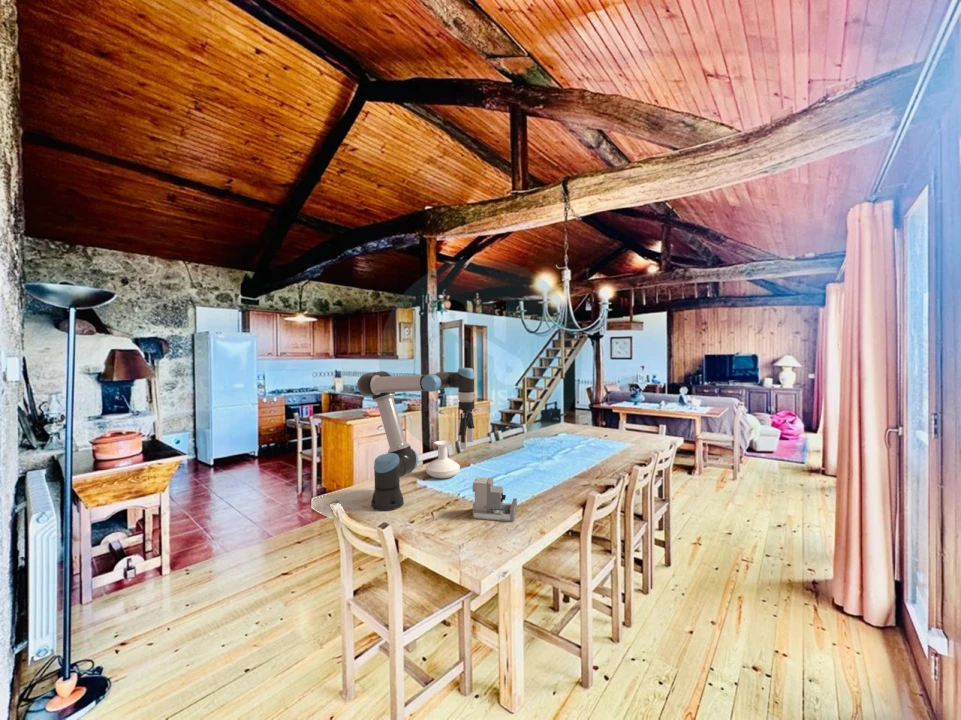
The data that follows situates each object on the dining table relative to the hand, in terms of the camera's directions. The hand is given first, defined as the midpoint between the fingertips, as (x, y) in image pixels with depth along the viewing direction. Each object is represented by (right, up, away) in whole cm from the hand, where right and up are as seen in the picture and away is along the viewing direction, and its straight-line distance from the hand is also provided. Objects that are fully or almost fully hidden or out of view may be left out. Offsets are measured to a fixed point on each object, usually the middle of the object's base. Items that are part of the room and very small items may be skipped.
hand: (466, 445), depth 192 cm
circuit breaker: (+11, -29, -8) cm, 32 cm away
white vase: (-15, -27, +45) cm, 55 cm away
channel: (+13, -29, -8) cm, 33 cm away
